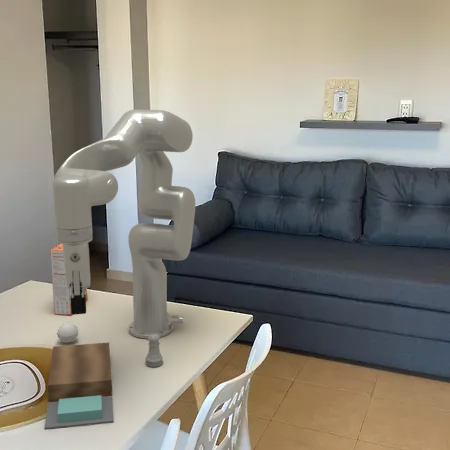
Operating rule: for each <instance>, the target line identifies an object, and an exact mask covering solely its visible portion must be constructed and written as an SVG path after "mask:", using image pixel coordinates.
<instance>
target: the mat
mask: <svg viewBox="0 0 450 450" xmlns="http://www.w3.org/2000/svg"><path fill="white" fill-rule="evenodd" d="M101 401H102V418H99V419H89V420H79V421H69V422H59V423H58V405H59V401H51V402H47V407H46V414H45V422H44V430H53V429H63V428H73V427H82V426H83V427H85V426H92V425H93V426H94V425H101V424H102V425H103V424H111V423H115V422H114V420H115V419H114V403H113V402H114V401H113V395H112V396H104V397H101Z"/></svg>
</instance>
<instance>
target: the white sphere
mask: <svg viewBox="0 0 450 450" xmlns="http://www.w3.org/2000/svg"><path fill="white" fill-rule="evenodd" d="M56 335H57V338H58V340H59V341H61V342H62V343H65V344H69V343H73V342H74V341H76V340H77V338H78V336H79V329H78V326H77V325H76V324H75V323H73V322H70V321H69V322H64V323H62V324H60V326H59V327H58V329H57V332H56Z"/></svg>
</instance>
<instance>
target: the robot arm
mask: <svg viewBox="0 0 450 450" xmlns="http://www.w3.org/2000/svg"><path fill="white" fill-rule="evenodd" d="M193 135H194V134H193V130H192V127H191V125H190V123H189V122H187V121H186V120H185V119H183V118H181V117H179V116H178V115H176V114H174V113H172V112H170V111H167V110H163V109H161V110H160V109H141V108H140V109H139V108H138V109H137V108H136V109H130V110H128V111H125V112H124V113H123V115H121V117H120V118H119V120H118V121H117V122H116V123H115V124H114V125H113V127H112V128H111V130H110V131H109V132H108V133H107V135H106V136H105V137H104V138H103V139H100V140H98V141H96V142H93V143H90V144H89V145H87V146H85V147H82V148H80V149H78V150H77V151H75V152H73V153H72V154H71V155H69V156H68V158H66V160H64V162H63V163H62V164H61V166H60V167H59V168H58V169H57V171H56V173H55V175H54V177H53V182H52V189H53V205H54V207H53V208H54V218H55V219H54V220H55V234H56V235H55V236H56V242H57V243H58V244H63V255H64V267H65V276H66V283H67V287H68V288H69V289H70V287H71V297H70V299H71V314H72V315H71V316H73V315H85V314H86V313H87V300H86V295H85V294H84V287H87V289H88V288H90V286H91V267H90V266H91V265H90V248H89V243H90V242H92V241H93V237H94V236H93V222H92V221H93V220H92V219H93V218H92V207H94V206H102V205H105V204H109V203H111V202H112V201H114V199H115V198H116V196H117V194H118V191H119V183H118V182H119V181H118V180H117V178H116V176H115V175H113V173H111V172H109V171H112V170H117V169H121V168H124V167H126V166H129V165H130V164H131V163H132V162H133V161H134V159H135V158H136V157H137V155H138V156H139V158H140V162H141V167H142V169H141V178H140V187H139V196H138V211H139V213H140V215H141V216H143V217H145V218H149V219H157V220H165V221H166V220H167V221H173V224H172V225H171V224H163V223H153V222H141V223H136V224H135V225H133V226H132V227H131V228H130V230H129V233H128V238H127V239H128V242H127V243H128V246H129V247H128V248H129V252H130V257H131V265H132V266H131V267H132V298H133V299H132V300H133V301H132V303H133V307H132V308H133V321H132V322H130V323H129V325H128V333H130V335H131V336H133V337H136V338H139V339H147V338H148V337H149V334H151V335H152V333H154V334H155V333H157V334H159V336H160V338H162V337H165V336H168V335H169V334H170V333H171V332H172V331H173V325H175V324H176V325H181V324H184V317H183V316H178V314H172V315H170V314H169V313H168V310H167V309H168V304H167V301H168V298H167V296H168V294H167V291H168V287H167V285H168V284H167V282H168V281H167V279H168V278H167V277H168V275H167V269H166V266H165V263H164V262H163V260H169V261H184V260H186V259H187V258H188V257H189V255H190V251H191V248H192V242H193V234H194V225H195V224H194V222H195V215H196V198H195V195H194V193H193V190H191V188H189V187H187V186H177V185H173V184H172V181H173V173H174V169H173V165H172V163H171V161H170V159H169V158H168V155H166V153H167V152H168V153H170V152H171V153H184V152H186V151H188V150H189V149H190V147H191V146H192V143H193V138H194V137H193ZM165 152H166V153H165Z"/></svg>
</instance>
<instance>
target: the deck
mask: <svg viewBox="0 0 450 450" xmlns="http://www.w3.org/2000/svg"><path fill="white" fill-rule="evenodd" d="M110 346H111V345H110V342H109V341H108V342H98V343H97V342H96V343H83V344H70V345H56V346H52V350H51V351H52V352H51V360H50V365H49V371H48V372H49V373H48V379H47V386H46V387H47V399H48V400H47V401H48V402H58V401H59V399H66V398H77V397H88V396H98V395H101V397H111V396H112V397H113V383H112V380H113V379H112V363H111V347H110ZM48 402H47V403H48Z"/></svg>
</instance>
